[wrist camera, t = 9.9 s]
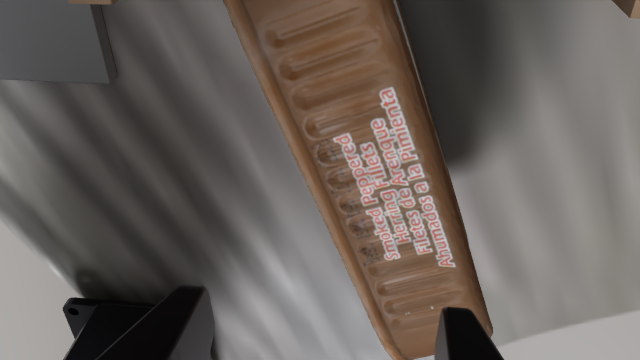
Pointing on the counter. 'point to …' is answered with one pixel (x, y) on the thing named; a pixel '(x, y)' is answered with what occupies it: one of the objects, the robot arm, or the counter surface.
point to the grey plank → (54, 42)
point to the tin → (367, 157)
